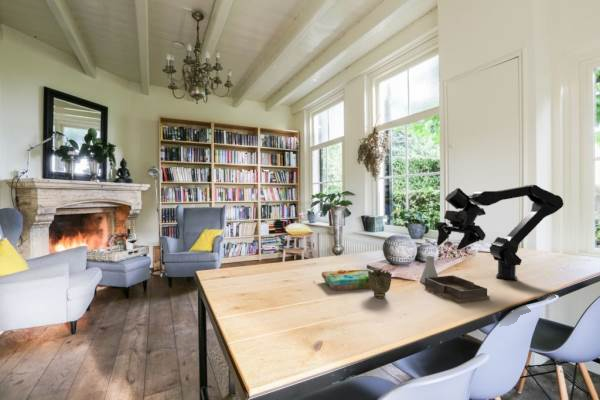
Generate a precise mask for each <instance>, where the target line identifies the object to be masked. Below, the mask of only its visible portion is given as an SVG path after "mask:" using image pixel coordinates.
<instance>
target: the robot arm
mask: <svg viewBox="0 0 600 400" xmlns="http://www.w3.org/2000/svg"><path fill="white" fill-rule="evenodd" d="M520 197H527V198H528V199H529V200H530V201H531V202H532V205H531V210H530V211H529V212H528V213H527V214H526V215H525V216H524V218H522V220H520V221H519V223H517V224H516V226H515V227H514V228H513V229H512V230H511V231H510V232H509V233H508V234H507V235H506V236H505V237H500V236H497V237H496V238H495V239H494V241H493V242H491V243H490V247H489V253H490V255H491V256H492V257H493V259H494V261H496V262H497V273H496V276H495V277H496V279H502V280H508V281H513V282H514V281H515V282H516V281H518V279H517V277H518V276H517V275H516V274H517V272H516V268H517V266H521V264H522V259H521V258H520V257H519V256H518V255H517V252H518V251H519V245H520V243H522V241H524V239H526V238H527V236H529V234H530V233H531V232H532V231H533V230H534V229H535V228H536V227H537V226H538V225H539V224H540V223H541V222H542V221H543V220H544V219H545V218H546V217H548V216H550V215H554V214H555V213H557V212H558V211H559V210H561V208H563V207H564V200H563V198H562V197H561V196H560V195H558V194H554V193H553V192H550V191H549V190H546V189H544V188H541V187H540V186H538V185H536V184H526V185H523V186H518V187H512V188H507V189H500V190H491V191H489V190H487V191H485V190H483V191H481V190H477V191H475V192H473V194H469V195H467V194H466V193H465V192H464V191H463V190H462V189H461V188H459V187H457V188H455V189H454V190H453V191H451V192H450V193H448V194H447V195H446V196H445V199H444V200H445V201H446V202H447V203H448V204H450V205H451V206H452V207H453V208H454V209H455V210H445V214H444V216H443V219H445V220H447V221H448V223H449V224H450V225H449V224H447V222H445V221H444V222H443V221H436V222H435V224H434V228H435V230H437V232H438V233H437V234H438V235H437V240H436V245H437V246H438V247H440V246H441V245H442V244H443V243H444V242H445V241H446V240H447V239H448V238H449V237H450V235H451V234H452V233H459V234H463V237H461V240H460V242H459V243H458V246H457V248H456V249H457V250H458V251H461V250H463V249H464V248H466V247H468V246H470V245H471V244H474V243H476V242H480V241H484V240H485V238H486V237H487V236H486V232H484V230H483V229H482V227H481V226H480V225H476V222H475V221H476V219H477V218H478V217H480V216H484V215H486V214H487V213H486V211H485V210H484V208H482V207H481V206H483V207H487V206H491V205H494V204H497V203H499V202H500V201H504V200H510V199H515V198H520Z"/></svg>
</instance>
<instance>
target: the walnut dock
mask: <svg viewBox="0 0 600 400" xmlns="http://www.w3.org/2000/svg"><path fill="white" fill-rule="evenodd" d="M424 285H425V286H424V288H425V289H427V290H429V291H431V292H433V293H436V294H438V295H440V296H441V297H444V298H446V299H448V300H451V301H453V302H455V303H457V304H464V303H472V302H480V301H481V302H482V301H489V300H490V298H491V297H490V296H489V295H488V288H487V287H484V286H482V285H479V284H475V283H474V282H472V281H470V280H467V279H466V278H465V279H464V278H461V277H459V276H457V275H453V274H451V275H444V276H443V275H442V276H438V277H429V278H425V284H424Z"/></svg>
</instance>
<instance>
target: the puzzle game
mask: <svg viewBox="0 0 600 400" xmlns="http://www.w3.org/2000/svg"><path fill="white" fill-rule="evenodd" d="M369 271H371V273H372V272H373V271H374V270H371V269H369V268H367V269H345V270H343V269H339V270H333V271H332V270H330V271H322V272H321V277H322V279H323V280H324V282H325V284H326V285H328V286H329V288H331V289H332V290H333V291H342V290H343V291H344V290H353V289H354V290H357V289H366V288H370V284H369V276H368V272H369Z"/></svg>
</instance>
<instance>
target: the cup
mask: <svg viewBox="0 0 600 400" xmlns="http://www.w3.org/2000/svg"><path fill="white" fill-rule="evenodd" d="M372 271H373V272H372V273H371V271H369V272H368V276H369V284H370V287H369V288H370V290H371V291H372V292H373V296H374V297H375V298H377V299H384V298H385V297H386V293H388V292H389V291H390V287H391V284H392V283H391V281H392V275H393V273H392V272H390V271H387V270H386V271H385V270H381V269H377V270H376V269H373V270H372Z"/></svg>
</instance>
